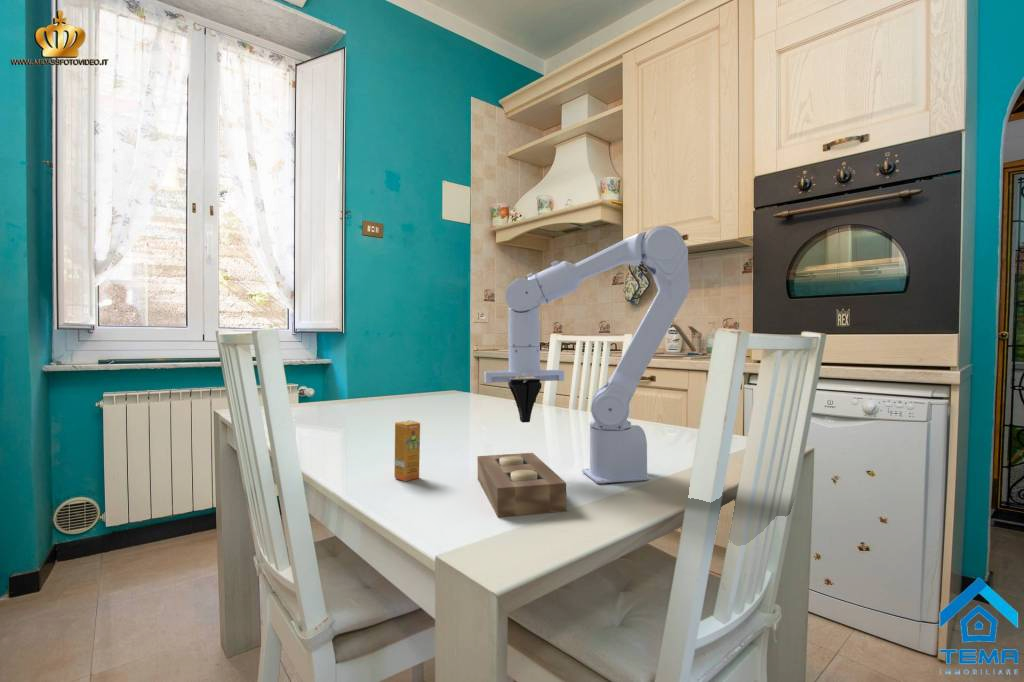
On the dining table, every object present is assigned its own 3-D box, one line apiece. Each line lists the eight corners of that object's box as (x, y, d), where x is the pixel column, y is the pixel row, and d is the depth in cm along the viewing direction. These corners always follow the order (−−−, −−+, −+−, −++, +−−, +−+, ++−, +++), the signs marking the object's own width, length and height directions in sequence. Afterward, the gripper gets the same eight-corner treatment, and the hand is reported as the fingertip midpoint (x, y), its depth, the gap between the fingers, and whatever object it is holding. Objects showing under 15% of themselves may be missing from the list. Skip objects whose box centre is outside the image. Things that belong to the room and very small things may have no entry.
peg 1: (520, 478, 86) (520, 455, 86) (526, 484, 82) (525, 461, 82) (497, 479, 85) (497, 456, 85) (502, 486, 82) (501, 462, 82)
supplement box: (406, 482, 86) (405, 424, 86) (393, 478, 89) (393, 422, 88) (421, 477, 89) (420, 421, 89) (409, 474, 91) (408, 419, 91)
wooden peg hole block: (532, 474, 90) (532, 452, 90) (566, 510, 71) (566, 482, 71) (477, 478, 88) (477, 456, 88) (497, 517, 69) (497, 488, 69)
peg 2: (533, 494, 78) (533, 469, 77) (540, 502, 74) (540, 476, 74) (508, 496, 77) (508, 470, 77) (514, 504, 73) (513, 477, 73)
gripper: (488, 347, 85) (489, 427, 86) (569, 346, 89) (570, 423, 89) (482, 347, 92) (482, 420, 92) (557, 345, 95) (558, 417, 96)
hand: (524, 421), depth 91 cm, fingers closed
